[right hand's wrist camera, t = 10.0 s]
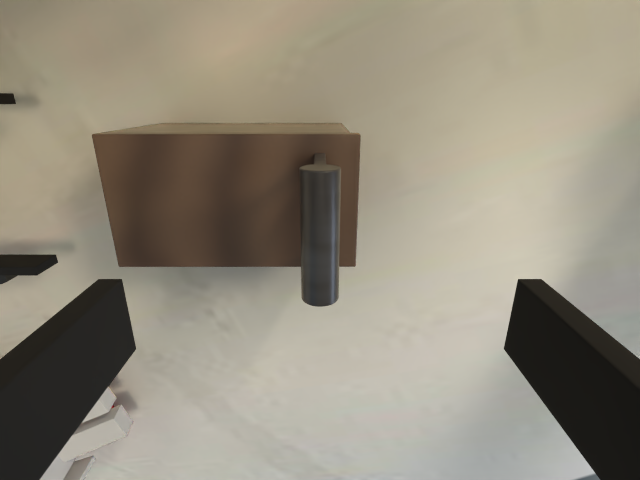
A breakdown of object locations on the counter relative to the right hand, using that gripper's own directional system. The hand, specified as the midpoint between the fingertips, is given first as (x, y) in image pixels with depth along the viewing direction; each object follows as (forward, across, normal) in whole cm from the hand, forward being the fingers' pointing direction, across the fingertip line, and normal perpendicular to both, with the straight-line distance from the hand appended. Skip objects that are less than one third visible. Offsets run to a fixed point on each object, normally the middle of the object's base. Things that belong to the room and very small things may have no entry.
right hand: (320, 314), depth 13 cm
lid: (+15, -6, 0) cm, 16 cm away
